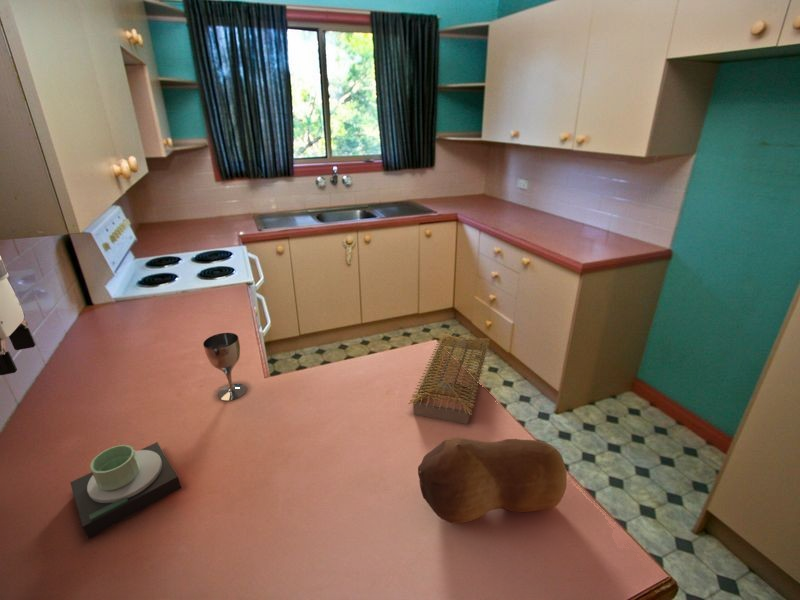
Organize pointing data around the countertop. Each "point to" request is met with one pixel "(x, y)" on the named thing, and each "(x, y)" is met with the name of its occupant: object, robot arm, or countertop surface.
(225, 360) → the wine glass
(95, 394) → the countertop surface
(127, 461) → the bowl
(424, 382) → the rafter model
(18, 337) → the robot arm
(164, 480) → the scale
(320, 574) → the countertop surface
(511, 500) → the butternut squash
